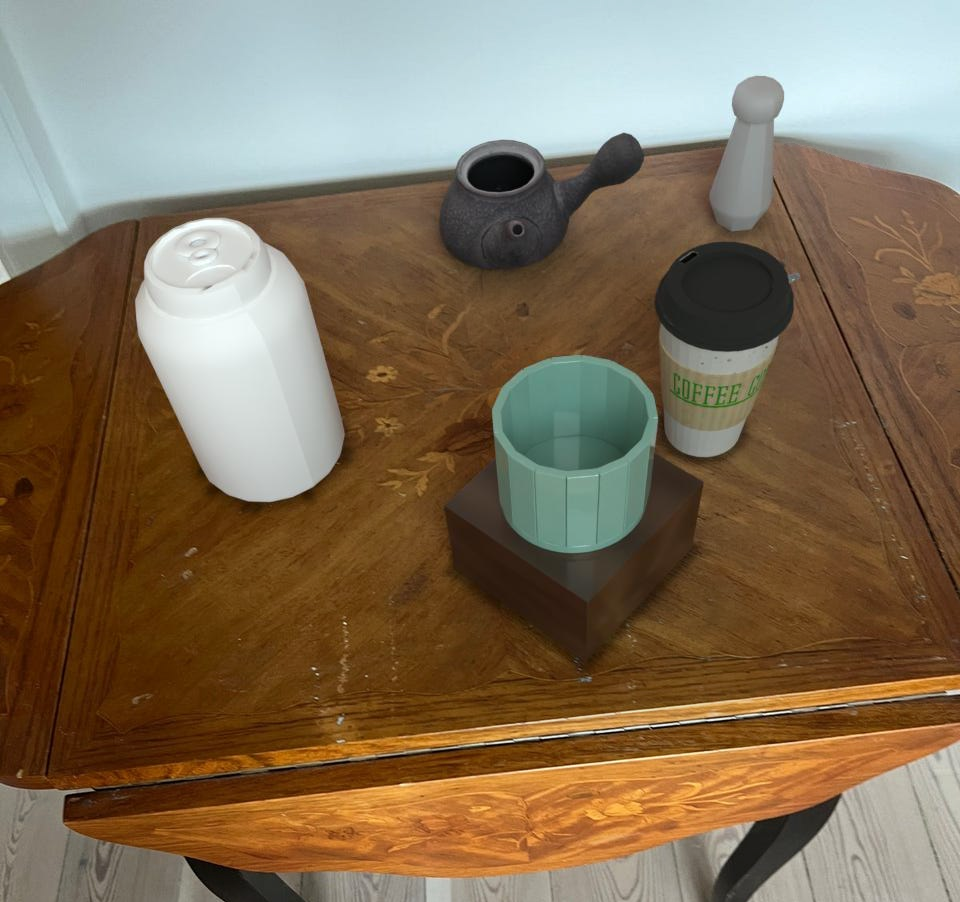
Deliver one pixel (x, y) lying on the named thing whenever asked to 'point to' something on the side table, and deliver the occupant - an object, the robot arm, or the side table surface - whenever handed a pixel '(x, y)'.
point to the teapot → (522, 200)
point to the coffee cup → (717, 340)
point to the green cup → (574, 452)
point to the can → (239, 359)
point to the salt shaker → (748, 156)
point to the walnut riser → (573, 559)
